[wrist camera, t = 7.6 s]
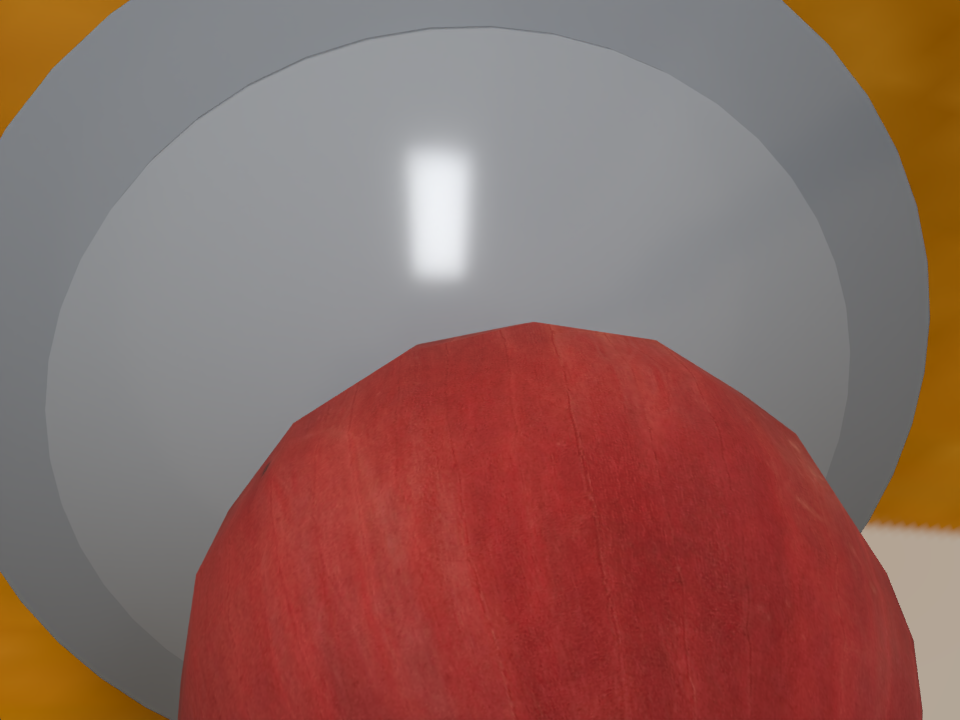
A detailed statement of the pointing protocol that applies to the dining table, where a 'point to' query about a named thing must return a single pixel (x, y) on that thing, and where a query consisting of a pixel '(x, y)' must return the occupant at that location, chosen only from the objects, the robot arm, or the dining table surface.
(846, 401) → the plate
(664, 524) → the onion
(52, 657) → the dining table surface
